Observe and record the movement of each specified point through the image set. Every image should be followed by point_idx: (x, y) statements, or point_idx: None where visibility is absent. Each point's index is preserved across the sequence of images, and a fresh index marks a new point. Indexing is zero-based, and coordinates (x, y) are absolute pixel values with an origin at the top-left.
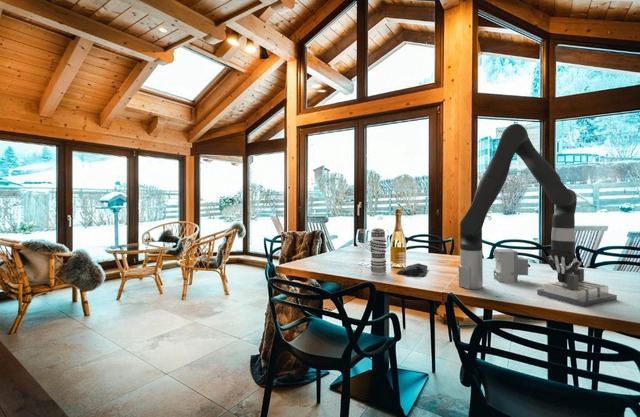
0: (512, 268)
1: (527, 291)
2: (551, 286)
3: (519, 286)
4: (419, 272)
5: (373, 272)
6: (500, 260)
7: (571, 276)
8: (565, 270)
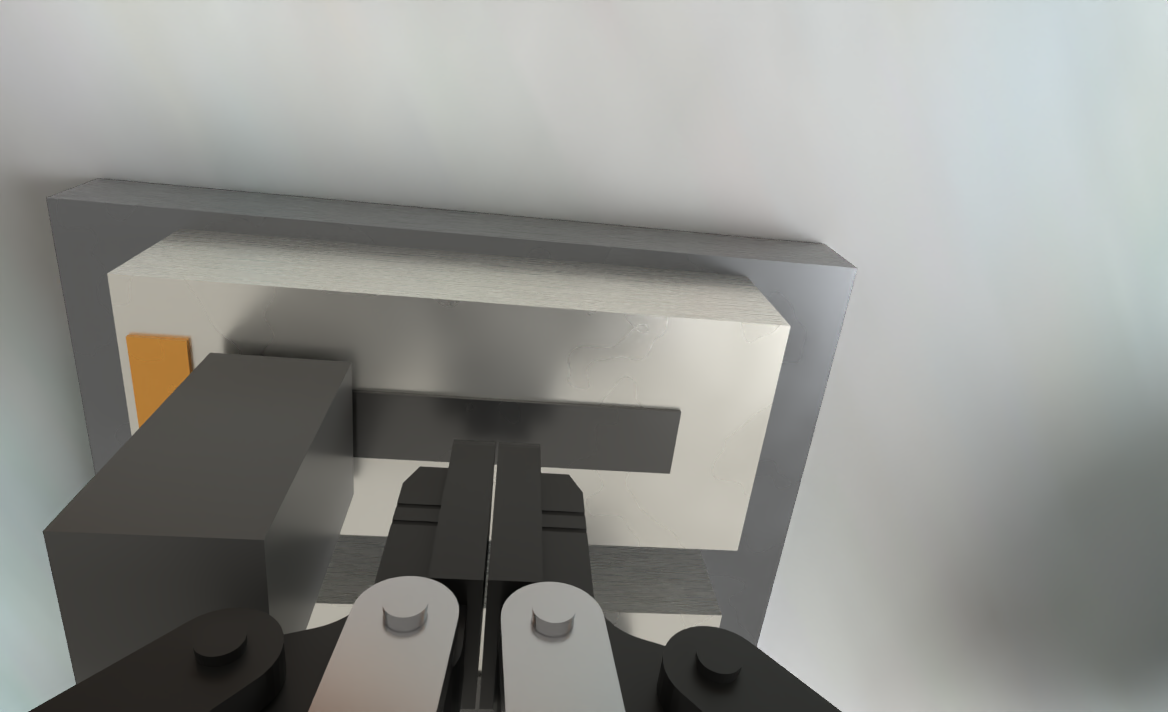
0: None
1: (991, 282)
2: (635, 310)
3: (1161, 435)
4: None
5: None
6: None
7: (133, 525)
8: (331, 698)
